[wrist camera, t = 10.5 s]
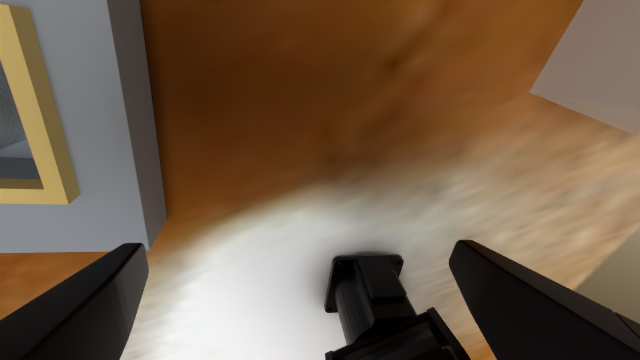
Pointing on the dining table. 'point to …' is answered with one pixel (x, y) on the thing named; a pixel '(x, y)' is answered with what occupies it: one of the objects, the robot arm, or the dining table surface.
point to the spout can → (9, 115)
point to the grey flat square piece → (79, 128)
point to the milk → (598, 65)
